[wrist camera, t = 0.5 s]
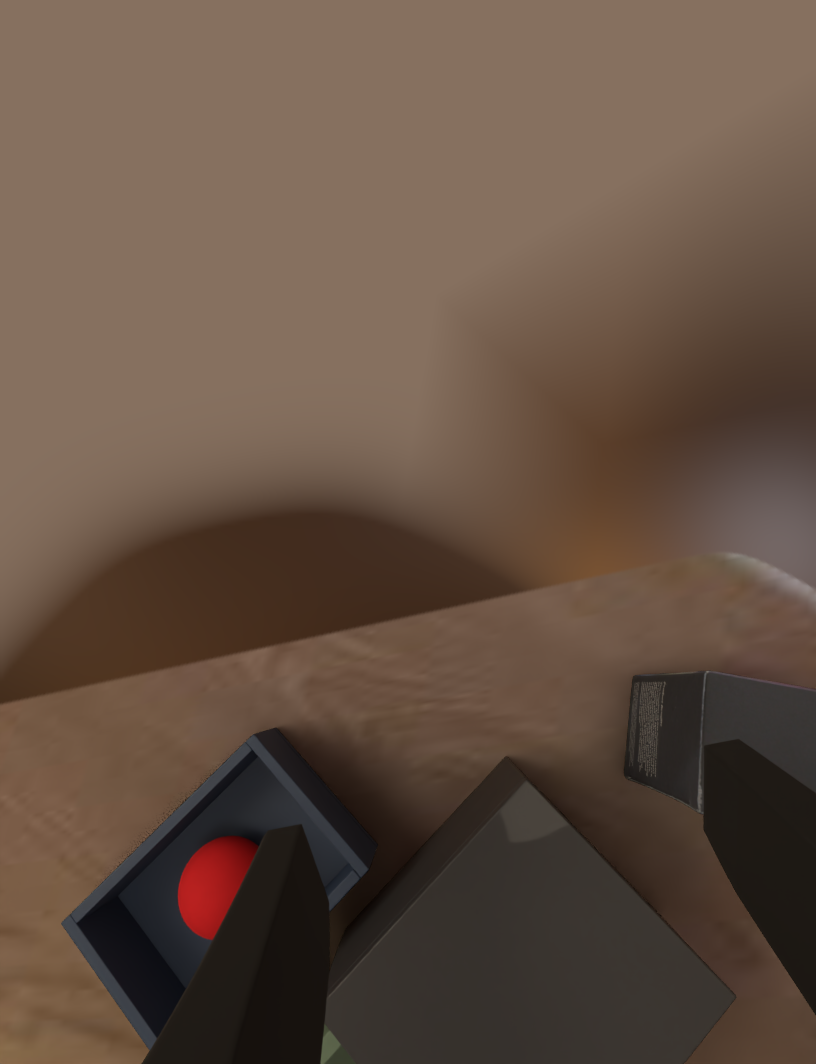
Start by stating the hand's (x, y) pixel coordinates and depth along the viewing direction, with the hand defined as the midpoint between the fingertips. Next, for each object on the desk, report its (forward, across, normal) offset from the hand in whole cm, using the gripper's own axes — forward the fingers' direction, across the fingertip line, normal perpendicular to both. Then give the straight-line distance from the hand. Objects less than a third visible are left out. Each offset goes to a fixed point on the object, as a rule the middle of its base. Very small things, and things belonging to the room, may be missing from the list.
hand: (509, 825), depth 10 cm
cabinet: (+14, 0, +24) cm, 28 cm away
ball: (+15, +14, +18) cm, 28 cm away
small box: (+19, -15, +19) cm, 30 cm away
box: (+17, +14, +20) cm, 30 cm away
